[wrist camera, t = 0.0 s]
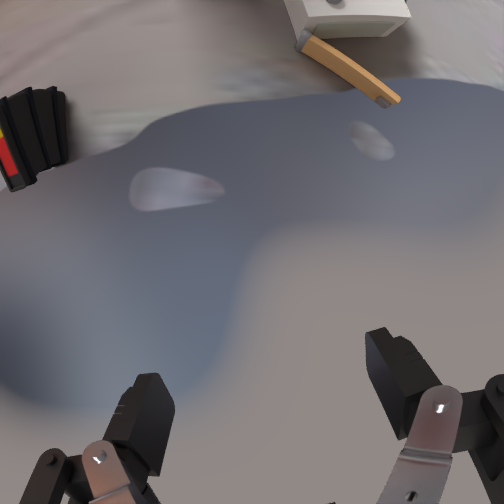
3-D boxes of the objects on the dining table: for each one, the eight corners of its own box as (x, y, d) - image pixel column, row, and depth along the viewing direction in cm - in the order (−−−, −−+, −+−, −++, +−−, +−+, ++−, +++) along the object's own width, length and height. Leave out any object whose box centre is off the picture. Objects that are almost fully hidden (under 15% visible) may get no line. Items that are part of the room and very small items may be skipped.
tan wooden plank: (297, 42, 31) (304, 27, 26) (385, 102, 34) (402, 96, 29) (291, 51, 32) (297, 36, 27) (379, 111, 34) (396, 106, 29)
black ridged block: (60, 69, 30) (-5, 101, 19) (83, 146, 39) (36, 201, 28) (41, 78, 30) (-24, 114, 19) (64, 151, 39) (16, 207, 28)
